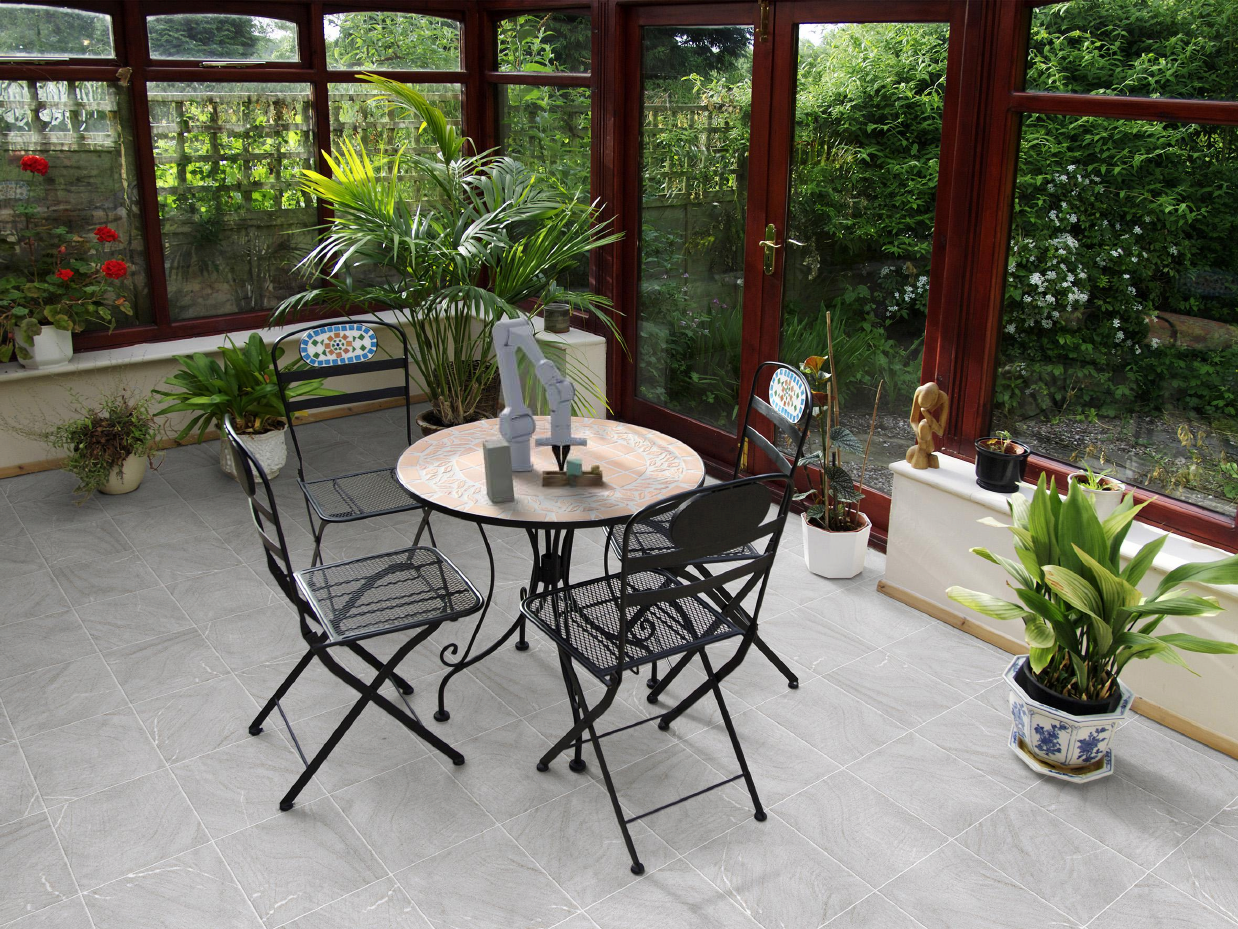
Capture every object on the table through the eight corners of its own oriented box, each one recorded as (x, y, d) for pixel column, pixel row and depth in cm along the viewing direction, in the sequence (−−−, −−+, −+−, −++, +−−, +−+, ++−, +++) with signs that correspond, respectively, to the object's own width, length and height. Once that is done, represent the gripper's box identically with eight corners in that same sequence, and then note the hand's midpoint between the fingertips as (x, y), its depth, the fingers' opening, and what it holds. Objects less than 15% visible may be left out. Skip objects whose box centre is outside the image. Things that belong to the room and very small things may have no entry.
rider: (566, 480, 311) (566, 463, 309) (566, 475, 315) (566, 458, 313) (582, 480, 311) (582, 463, 309) (582, 475, 315) (581, 458, 314)
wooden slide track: (542, 487, 310) (541, 470, 308) (542, 479, 316) (542, 462, 315) (602, 486, 311) (602, 469, 309) (602, 479, 317) (602, 462, 315)
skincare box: (515, 501, 299) (513, 445, 294) (488, 504, 297) (487, 447, 292) (509, 491, 307) (507, 436, 302) (483, 493, 305) (481, 438, 300)
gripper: (534, 428, 304) (535, 474, 308) (587, 427, 304) (587, 474, 309) (535, 421, 310) (536, 467, 315) (586, 420, 311) (586, 466, 315)
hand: (561, 470), depth 312 cm, fingers closed
